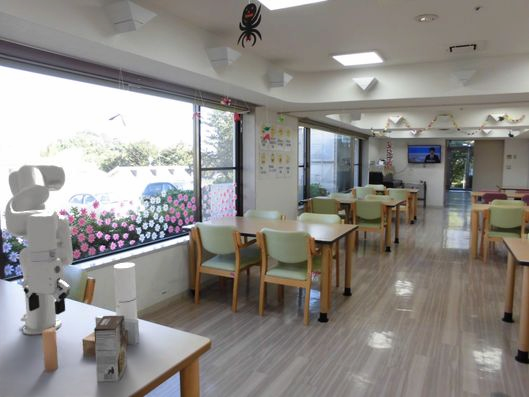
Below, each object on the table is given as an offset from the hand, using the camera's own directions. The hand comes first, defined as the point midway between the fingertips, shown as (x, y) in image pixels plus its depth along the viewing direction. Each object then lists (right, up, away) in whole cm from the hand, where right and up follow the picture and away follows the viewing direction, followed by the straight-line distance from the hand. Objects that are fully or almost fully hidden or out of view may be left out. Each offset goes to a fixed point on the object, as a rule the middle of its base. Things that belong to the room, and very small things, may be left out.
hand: (47, 311), depth 119 cm
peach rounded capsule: (0, -18, +2) cm, 18 cm away
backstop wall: (+14, -16, +20) cm, 29 cm away
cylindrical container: (+15, -15, +27) cm, 34 cm away
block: (+12, -17, +14) cm, 25 cm away
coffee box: (+20, -19, 0) cm, 27 cm away
